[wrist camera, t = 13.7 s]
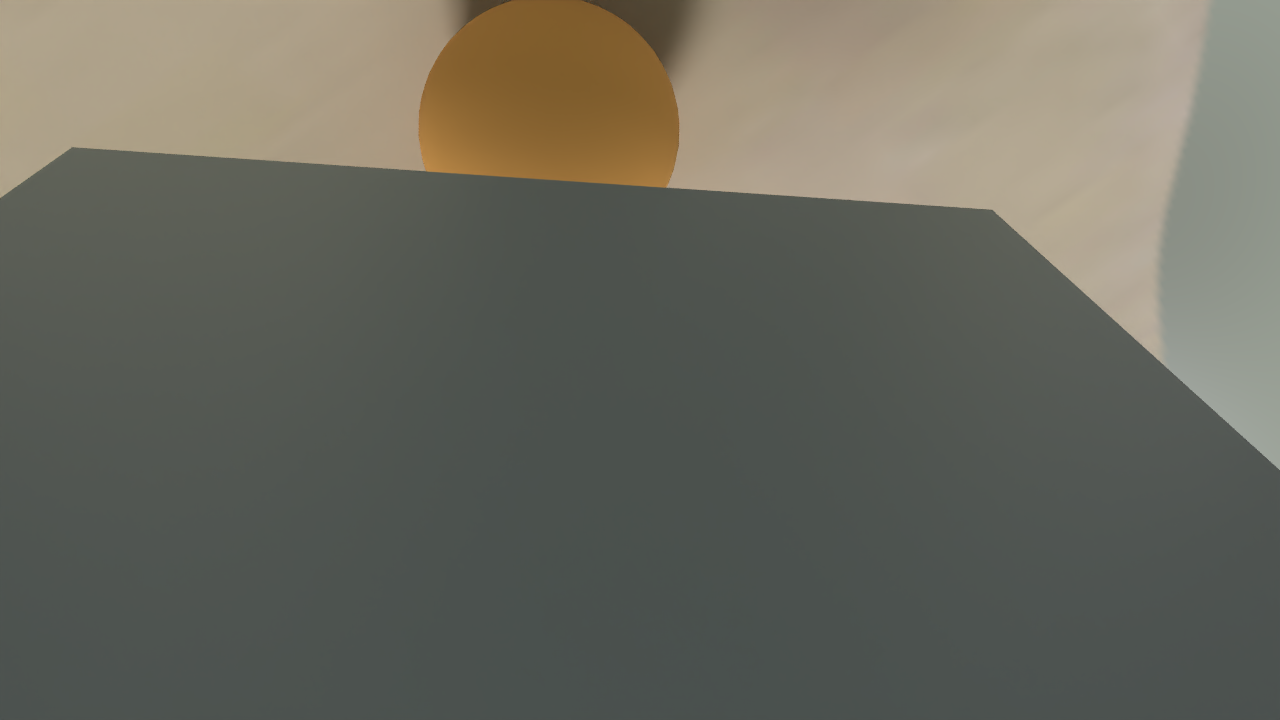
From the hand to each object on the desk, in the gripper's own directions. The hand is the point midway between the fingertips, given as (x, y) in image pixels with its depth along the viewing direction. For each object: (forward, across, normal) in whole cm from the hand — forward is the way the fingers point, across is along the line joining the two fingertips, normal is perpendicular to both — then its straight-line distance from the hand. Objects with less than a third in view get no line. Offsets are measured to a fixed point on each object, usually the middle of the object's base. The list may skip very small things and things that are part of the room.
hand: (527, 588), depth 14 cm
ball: (+10, 0, +3) cm, 11 cm away
